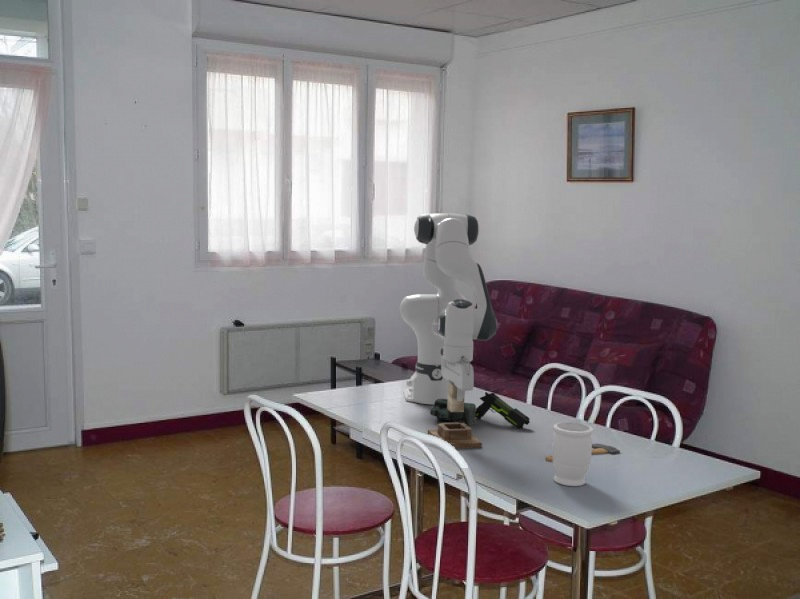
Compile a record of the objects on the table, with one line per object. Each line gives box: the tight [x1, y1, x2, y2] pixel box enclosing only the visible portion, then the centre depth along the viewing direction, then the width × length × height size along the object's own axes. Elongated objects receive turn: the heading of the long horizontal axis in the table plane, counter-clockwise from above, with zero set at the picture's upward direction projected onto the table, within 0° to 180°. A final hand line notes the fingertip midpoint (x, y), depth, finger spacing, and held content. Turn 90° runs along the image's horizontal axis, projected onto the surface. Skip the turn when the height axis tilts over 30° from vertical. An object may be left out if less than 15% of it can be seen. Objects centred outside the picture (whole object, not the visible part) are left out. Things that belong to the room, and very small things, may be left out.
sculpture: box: [429, 399, 477, 426], centre depth 280 cm, size 12×8×15 cm
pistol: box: [475, 391, 531, 430], centre depth 279 cm, size 21×3×10 cm, turn 54°
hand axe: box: [544, 443, 621, 463], centre depth 250 cm, size 27×2×10 cm
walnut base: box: [427, 421, 483, 450], centre depth 257 cm, size 16×12×4 cm
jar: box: [551, 421, 594, 487], centre depth 223 cm, size 11×10×15 cm
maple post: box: [447, 380, 466, 412], centre depth 256 cm, size 4×4×9 cm
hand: (456, 398), depth 256 cm, fingers closed on maple post, 4 cm apart
